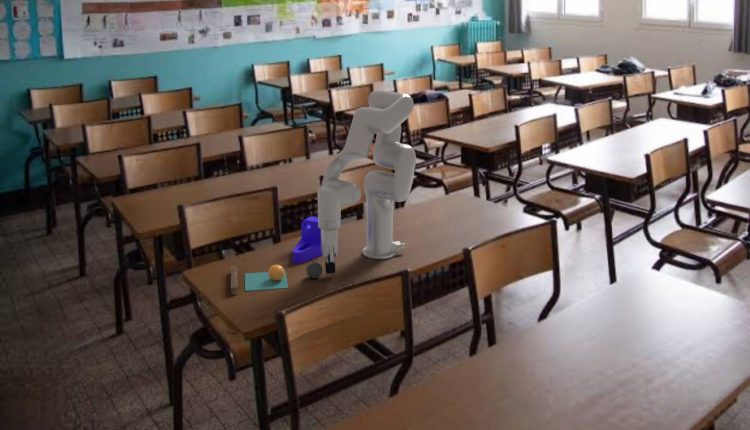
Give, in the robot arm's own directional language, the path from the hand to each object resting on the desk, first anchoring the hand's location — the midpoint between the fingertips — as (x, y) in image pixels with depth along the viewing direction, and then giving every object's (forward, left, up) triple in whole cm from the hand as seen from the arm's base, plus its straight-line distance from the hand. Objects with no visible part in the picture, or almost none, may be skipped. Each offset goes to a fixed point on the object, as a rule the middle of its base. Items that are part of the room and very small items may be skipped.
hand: (330, 272), depth 249 cm
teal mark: (+22, 0, -2) cm, 22 cm away
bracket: (+6, -21, -2) cm, 22 cm away
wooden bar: (+32, 0, -2) cm, 33 cm away
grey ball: (+5, 0, +1) cm, 6 cm away
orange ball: (+18, 0, +1) cm, 18 cm away
